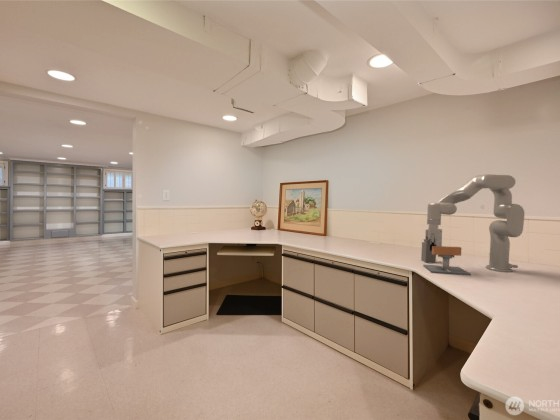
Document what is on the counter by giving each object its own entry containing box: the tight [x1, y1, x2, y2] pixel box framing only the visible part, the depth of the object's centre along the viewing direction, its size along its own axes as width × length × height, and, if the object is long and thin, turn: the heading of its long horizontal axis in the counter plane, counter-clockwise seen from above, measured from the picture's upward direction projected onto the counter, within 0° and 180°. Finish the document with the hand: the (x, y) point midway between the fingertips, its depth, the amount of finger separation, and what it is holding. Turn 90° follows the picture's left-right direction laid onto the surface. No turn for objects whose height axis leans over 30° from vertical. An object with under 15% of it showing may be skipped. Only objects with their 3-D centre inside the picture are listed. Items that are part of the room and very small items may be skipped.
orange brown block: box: [432, 245, 462, 259], centre depth 161 cm, size 16×6×7 cm, turn 83°
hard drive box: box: [424, 228, 443, 246], centre depth 214 cm, size 16×8×20 cm, turn 130°
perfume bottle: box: [420, 236, 437, 264], centre depth 184 cm, size 7×7×18 cm
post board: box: [422, 258, 472, 276], centre depth 162 cm, size 21×16×8 cm
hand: (432, 250), depth 165 cm, fingers closed
